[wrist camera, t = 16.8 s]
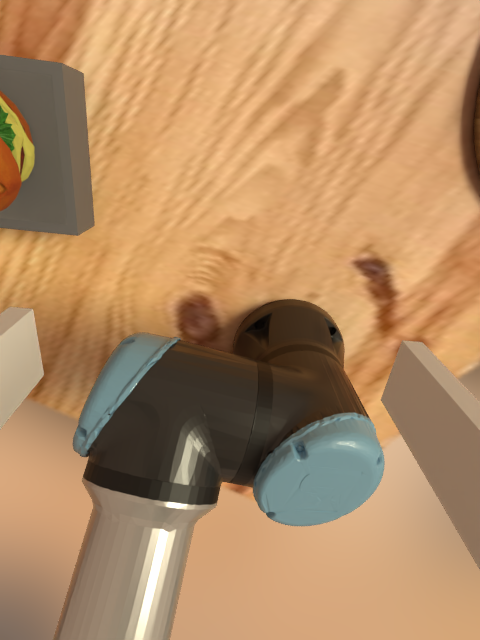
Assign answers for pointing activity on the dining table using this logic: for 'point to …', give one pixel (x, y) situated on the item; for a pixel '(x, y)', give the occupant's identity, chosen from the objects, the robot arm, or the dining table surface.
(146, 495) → the robot arm
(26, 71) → the tray
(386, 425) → the dining table surface
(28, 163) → the cheeseburger
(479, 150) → the wooden plate with food
